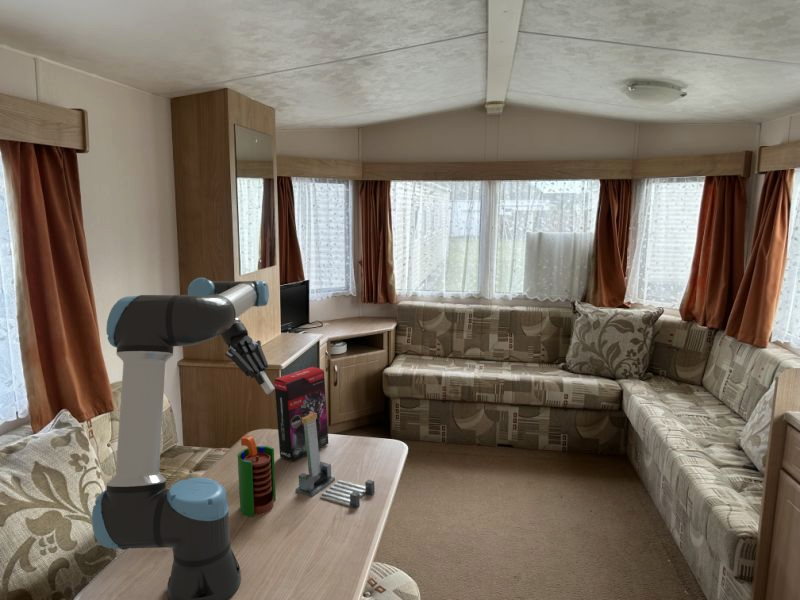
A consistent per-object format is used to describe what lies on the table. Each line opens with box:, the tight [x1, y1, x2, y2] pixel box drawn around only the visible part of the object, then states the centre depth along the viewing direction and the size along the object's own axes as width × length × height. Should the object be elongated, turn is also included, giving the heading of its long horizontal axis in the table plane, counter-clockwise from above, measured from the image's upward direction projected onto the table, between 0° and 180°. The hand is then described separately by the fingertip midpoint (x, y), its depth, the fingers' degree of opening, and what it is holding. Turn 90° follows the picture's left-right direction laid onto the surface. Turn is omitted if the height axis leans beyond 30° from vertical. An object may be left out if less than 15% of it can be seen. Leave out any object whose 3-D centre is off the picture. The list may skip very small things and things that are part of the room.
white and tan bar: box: [302, 412, 324, 483], centre depth 165 cm, size 5×2×20 cm, turn 151°
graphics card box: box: [273, 366, 329, 462], centre depth 187 cm, size 17×7×27 cm, turn 143°
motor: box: [237, 435, 277, 518], centre depth 153 cm, size 10×9×20 cm
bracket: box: [295, 461, 375, 509], centre depth 162 cm, size 11×20×5 cm, turn 61°
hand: (270, 391), depth 169 cm, fingers closed
